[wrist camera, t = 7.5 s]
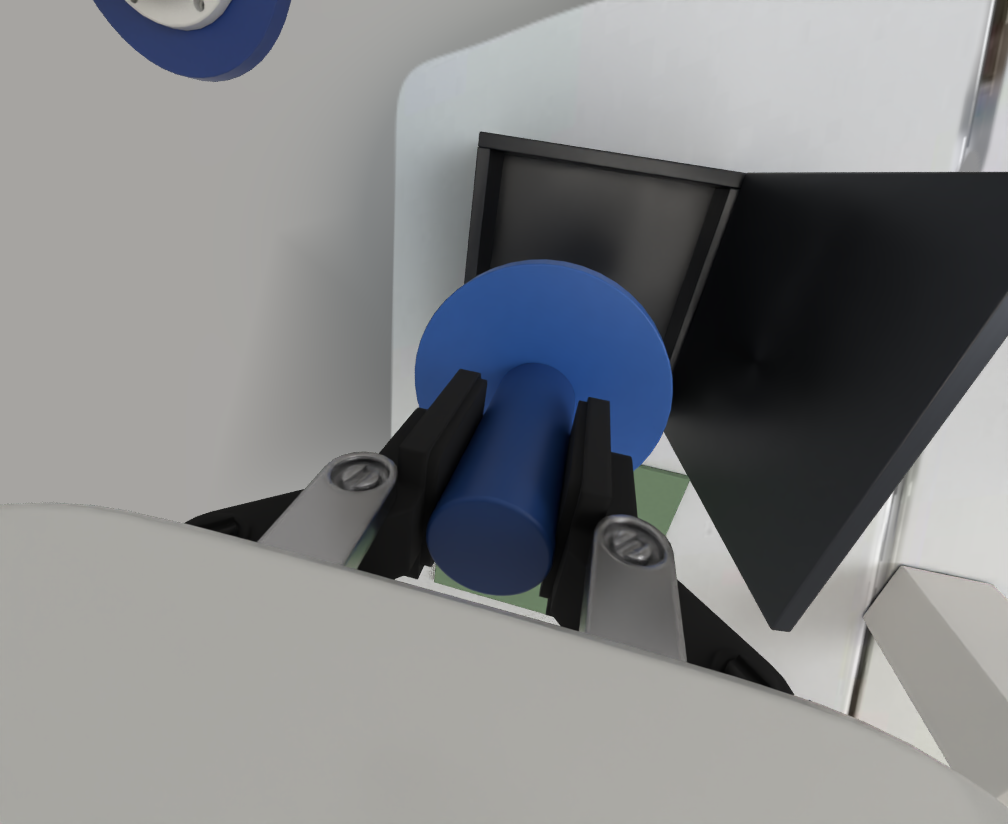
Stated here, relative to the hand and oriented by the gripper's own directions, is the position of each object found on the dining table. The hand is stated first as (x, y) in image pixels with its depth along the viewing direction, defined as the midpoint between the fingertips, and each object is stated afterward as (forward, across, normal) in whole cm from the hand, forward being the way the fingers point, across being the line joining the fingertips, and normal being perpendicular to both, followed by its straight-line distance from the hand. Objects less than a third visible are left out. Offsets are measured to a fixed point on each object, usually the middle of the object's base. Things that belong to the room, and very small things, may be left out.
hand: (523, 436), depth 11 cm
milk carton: (+24, -36, +22) cm, 49 cm away
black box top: (+11, -9, 0) cm, 15 cm away
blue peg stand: (+3, 0, 0) cm, 3 cm away
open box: (+25, 0, 0) cm, 25 cm away
